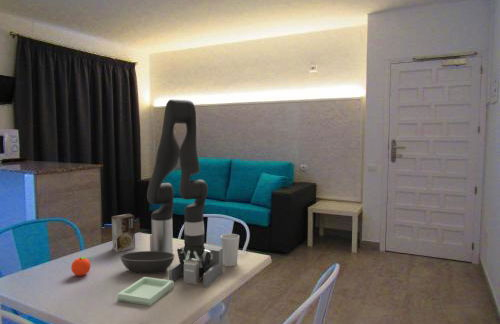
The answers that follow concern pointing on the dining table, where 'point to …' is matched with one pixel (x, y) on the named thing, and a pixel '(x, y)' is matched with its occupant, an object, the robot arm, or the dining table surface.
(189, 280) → the white block
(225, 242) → the cup
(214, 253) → the bay
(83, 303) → the dining table surface
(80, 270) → the clementine
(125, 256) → the bowl
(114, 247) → the coffee box
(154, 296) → the tray
